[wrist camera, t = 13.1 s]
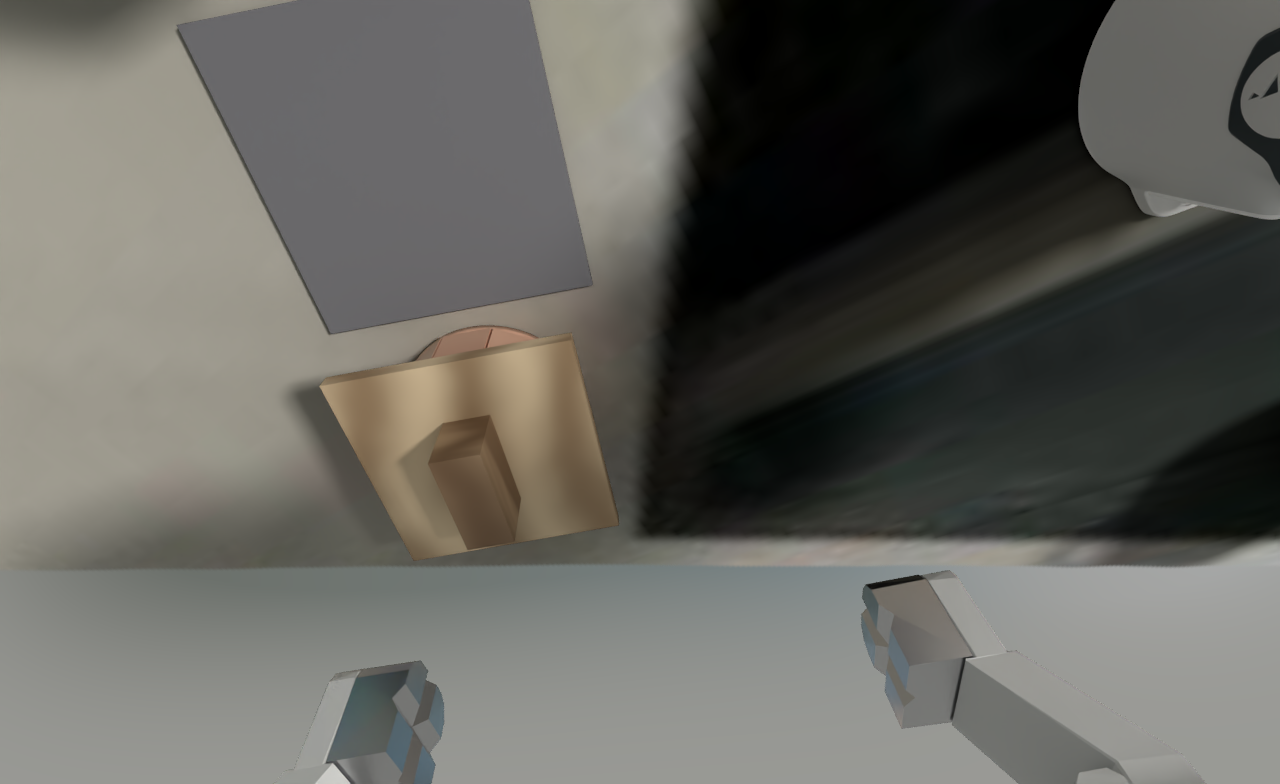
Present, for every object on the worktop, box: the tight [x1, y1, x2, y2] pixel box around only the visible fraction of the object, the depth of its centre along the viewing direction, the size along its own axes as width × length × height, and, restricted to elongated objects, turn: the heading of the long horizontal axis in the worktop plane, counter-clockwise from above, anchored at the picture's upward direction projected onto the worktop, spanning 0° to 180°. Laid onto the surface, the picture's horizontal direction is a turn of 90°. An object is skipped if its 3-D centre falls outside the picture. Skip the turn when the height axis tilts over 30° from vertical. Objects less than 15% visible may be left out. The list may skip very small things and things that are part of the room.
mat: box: [177, 0, 593, 334], centre depth 35 cm, size 18×18×1 cm
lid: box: [320, 333, 619, 561], centre depth 37 cm, size 15×15×5 cm
